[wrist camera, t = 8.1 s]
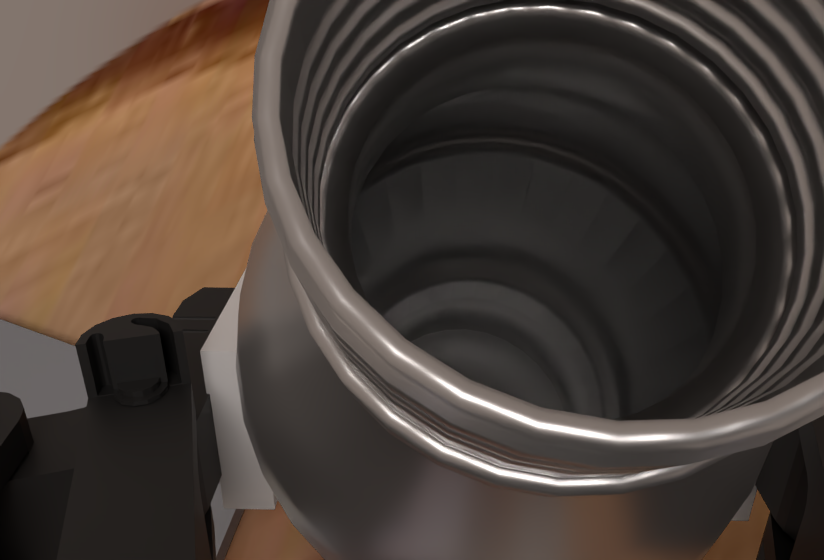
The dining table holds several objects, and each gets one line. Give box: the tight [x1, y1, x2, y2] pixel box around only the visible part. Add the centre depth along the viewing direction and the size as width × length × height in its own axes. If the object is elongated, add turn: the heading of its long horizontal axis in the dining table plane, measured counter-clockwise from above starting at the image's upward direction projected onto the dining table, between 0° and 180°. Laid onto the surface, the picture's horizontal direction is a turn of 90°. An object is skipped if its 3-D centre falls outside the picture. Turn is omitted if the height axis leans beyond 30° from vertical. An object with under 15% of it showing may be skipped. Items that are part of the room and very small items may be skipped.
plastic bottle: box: [236, 0, 824, 560], centre depth 13 cm, size 6×7×20 cm
